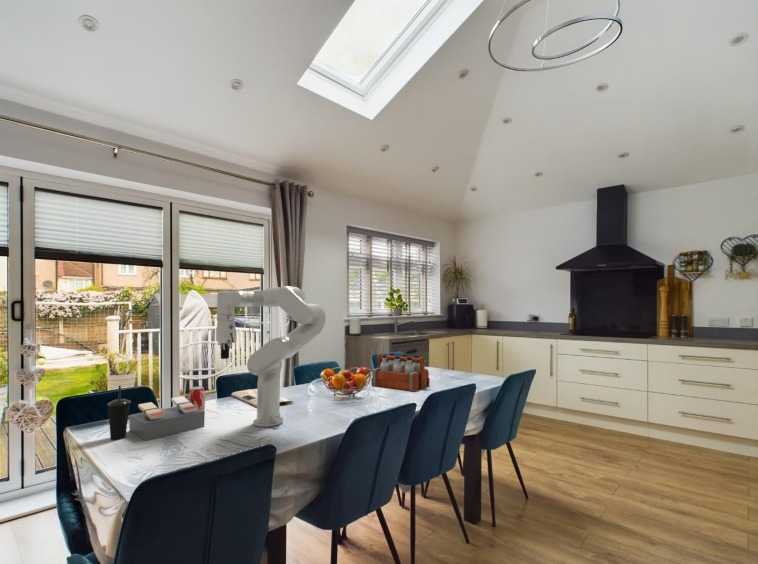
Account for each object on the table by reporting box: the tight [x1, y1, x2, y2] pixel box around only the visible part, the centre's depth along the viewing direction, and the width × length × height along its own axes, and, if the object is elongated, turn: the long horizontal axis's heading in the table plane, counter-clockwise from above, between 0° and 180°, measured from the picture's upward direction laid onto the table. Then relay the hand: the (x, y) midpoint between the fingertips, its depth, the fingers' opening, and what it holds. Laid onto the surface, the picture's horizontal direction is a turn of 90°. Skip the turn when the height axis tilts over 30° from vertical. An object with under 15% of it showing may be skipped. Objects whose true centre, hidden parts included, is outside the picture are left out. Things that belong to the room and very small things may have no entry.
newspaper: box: [231, 388, 294, 408], centre depth 217 cm, size 37×19×3 cm, turn 42°
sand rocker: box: [137, 401, 165, 420], centre depth 163 cm, size 14×5×2 cm, turn 49°
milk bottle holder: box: [370, 352, 431, 392], centre depth 255 cm, size 21×35×19 cm, turn 58°
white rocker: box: [171, 395, 197, 413], centre depth 173 cm, size 14×5×2 cm, turn 49°
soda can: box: [188, 385, 206, 411], centre depth 191 cm, size 7×7×12 cm
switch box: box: [128, 405, 206, 442], centre depth 170 cm, size 22×23×8 cm
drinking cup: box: [106, 385, 132, 441], centre depth 157 cm, size 8×8×20 cm
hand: (224, 358), depth 183 cm, fingers closed
